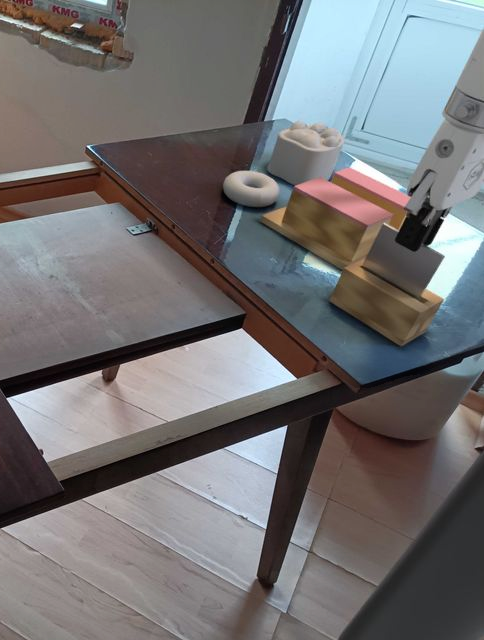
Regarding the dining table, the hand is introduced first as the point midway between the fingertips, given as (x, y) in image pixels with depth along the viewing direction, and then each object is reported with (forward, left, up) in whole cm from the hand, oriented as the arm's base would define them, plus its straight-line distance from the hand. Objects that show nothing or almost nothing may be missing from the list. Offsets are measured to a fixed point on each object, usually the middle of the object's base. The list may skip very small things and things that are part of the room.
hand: (412, 242), depth 92 cm
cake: (+17, -15, -13) cm, 26 cm away
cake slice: (+17, -20, -11) cm, 29 cm away
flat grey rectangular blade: (0, 0, -8) cm, 8 cm away
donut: (+34, -11, -13) cm, 38 cm away
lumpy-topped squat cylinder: (+36, -29, -13) cm, 48 cm away
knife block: (0, 0, -13) cm, 13 cm away
